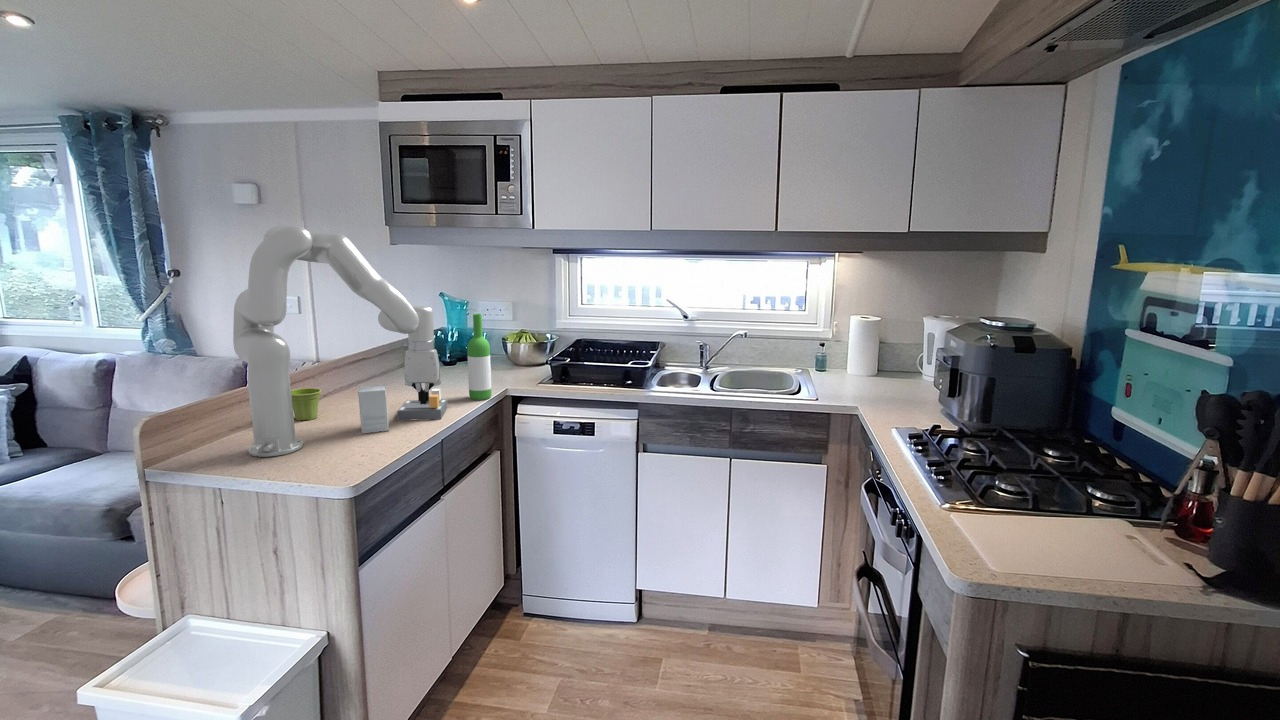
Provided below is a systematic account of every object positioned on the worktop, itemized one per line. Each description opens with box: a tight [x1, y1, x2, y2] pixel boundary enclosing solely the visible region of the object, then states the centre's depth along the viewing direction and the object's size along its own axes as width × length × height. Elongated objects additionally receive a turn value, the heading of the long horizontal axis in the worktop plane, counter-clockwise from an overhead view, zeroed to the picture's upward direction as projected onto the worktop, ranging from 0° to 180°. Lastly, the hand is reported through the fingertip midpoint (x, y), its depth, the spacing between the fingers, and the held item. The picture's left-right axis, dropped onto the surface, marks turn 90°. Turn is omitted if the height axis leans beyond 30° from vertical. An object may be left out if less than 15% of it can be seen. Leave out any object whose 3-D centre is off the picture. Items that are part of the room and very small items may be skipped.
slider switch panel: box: [396, 398, 449, 421], centre depth 200 cm, size 13×13×3 cm
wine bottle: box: [466, 313, 492, 401], centre depth 218 cm, size 8×8×30 cm
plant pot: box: [291, 387, 322, 421], centre depth 193 cm, size 9×9×9 cm
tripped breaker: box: [429, 394, 439, 408], centre depth 196 cm, size 3×2×4 cm
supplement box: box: [357, 384, 389, 434], centre depth 183 cm, size 7×7×13 cm
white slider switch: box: [430, 388, 442, 401], centre depth 204 cm, size 3×2×4 cm
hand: (423, 403), depth 196 cm, fingers closed
